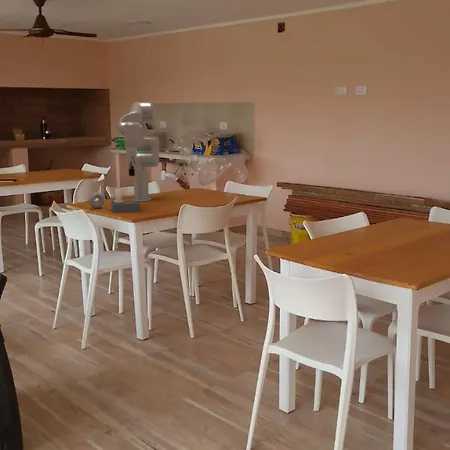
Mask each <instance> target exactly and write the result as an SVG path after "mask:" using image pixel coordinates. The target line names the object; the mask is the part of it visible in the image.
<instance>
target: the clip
mask: <svg viewBox="0 0 450 450" xmlns="http://www.w3.org/2000/svg"><path fill="white" fill-rule="evenodd" d="M132 199H135V195H134V194H133V195H130V194H129V195H127V194H126V195H122V200H132ZM111 200H116V198H115V195H110V201H111Z"/></svg>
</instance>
